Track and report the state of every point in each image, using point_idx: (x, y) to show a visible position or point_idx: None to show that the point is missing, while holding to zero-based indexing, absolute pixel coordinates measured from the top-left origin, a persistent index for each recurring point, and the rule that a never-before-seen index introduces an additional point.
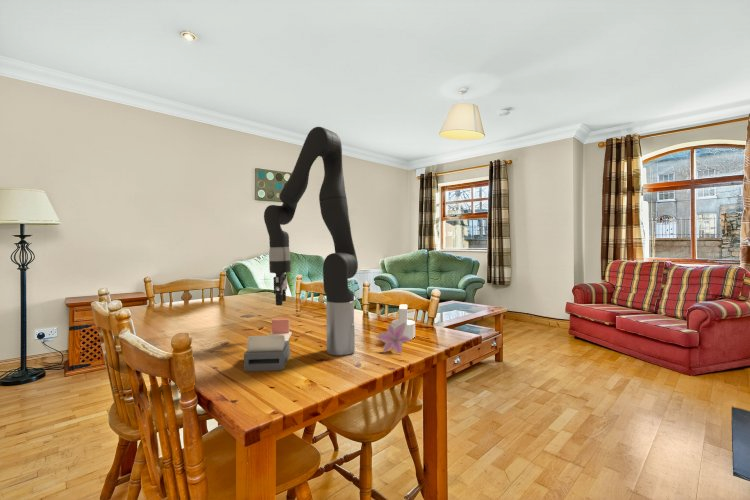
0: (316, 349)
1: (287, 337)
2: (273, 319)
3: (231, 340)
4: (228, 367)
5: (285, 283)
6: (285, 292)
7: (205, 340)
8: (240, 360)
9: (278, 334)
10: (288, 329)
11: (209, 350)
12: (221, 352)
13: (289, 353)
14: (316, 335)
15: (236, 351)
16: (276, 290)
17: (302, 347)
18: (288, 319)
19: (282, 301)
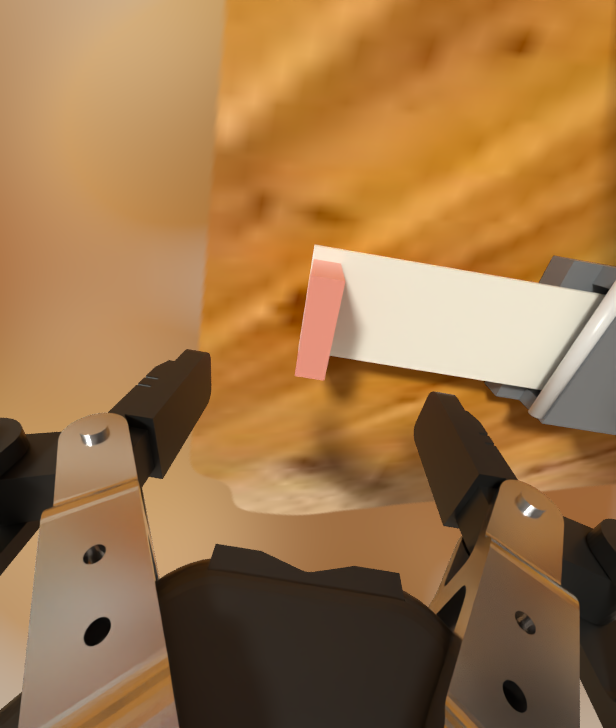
0: (567, 91)
1: (428, 272)
2: (308, 373)
3: (273, 453)
4: (558, 443)
5: (154, 595)
6: (160, 411)
7: (258, 506)
8: (512, 420)
9: (350, 316)
10: (341, 268)
11: (365, 491)
12: (398, 467)
13: (580, 260)
14: (263, 60)
15: (407, 435)
16: (612, 618)
17: (482, 184)
18: (336, 282)
19: (210, 377)
